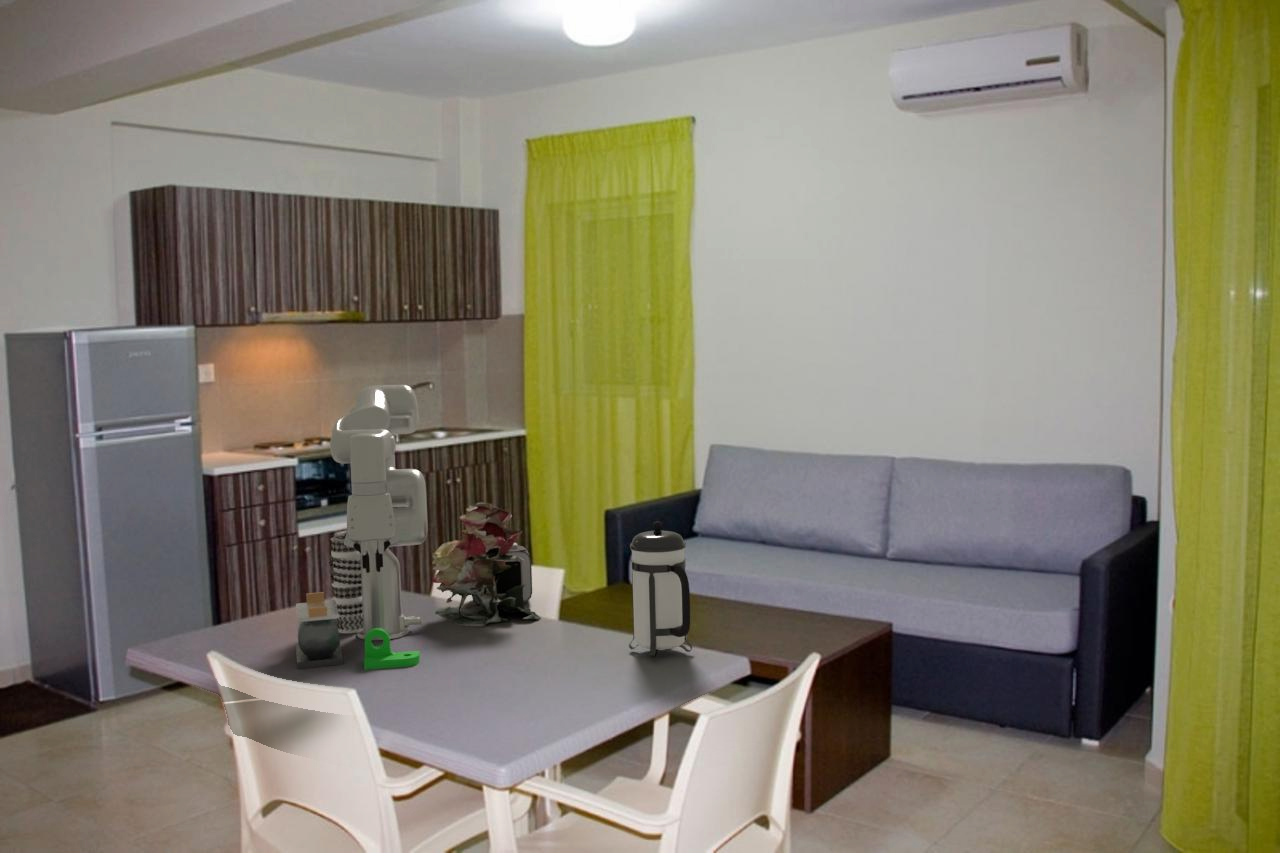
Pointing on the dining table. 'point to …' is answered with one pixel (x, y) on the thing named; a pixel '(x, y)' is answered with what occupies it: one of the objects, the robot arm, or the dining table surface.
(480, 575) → the rose bouquet
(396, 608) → the robot arm
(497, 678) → the dining table surface
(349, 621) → the decorative candle
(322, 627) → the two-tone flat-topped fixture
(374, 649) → the mechanical part
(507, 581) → the alarm clock
